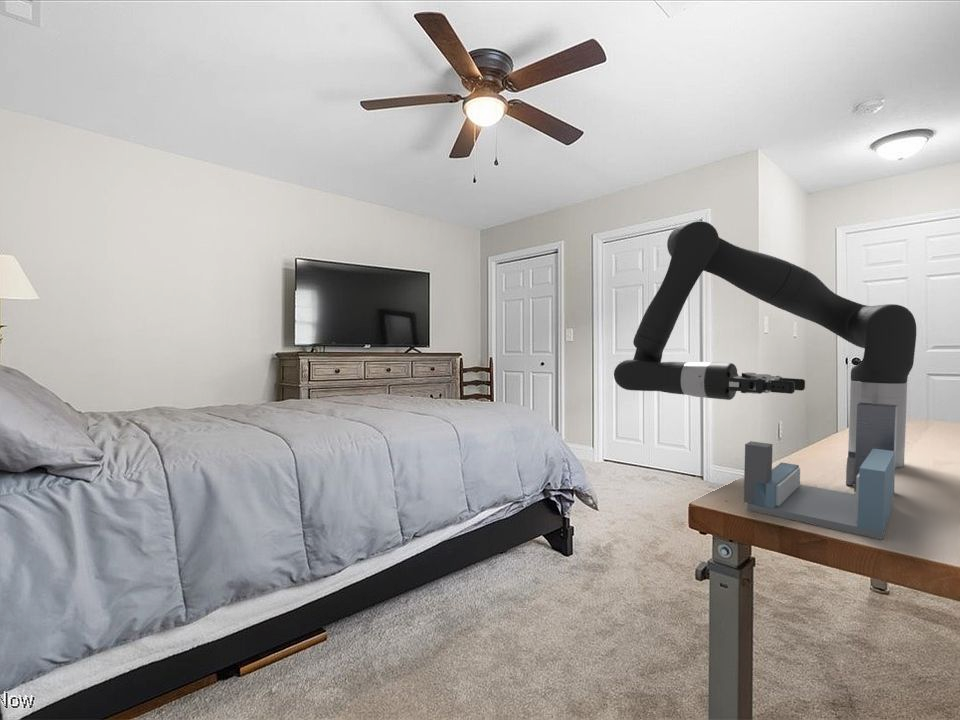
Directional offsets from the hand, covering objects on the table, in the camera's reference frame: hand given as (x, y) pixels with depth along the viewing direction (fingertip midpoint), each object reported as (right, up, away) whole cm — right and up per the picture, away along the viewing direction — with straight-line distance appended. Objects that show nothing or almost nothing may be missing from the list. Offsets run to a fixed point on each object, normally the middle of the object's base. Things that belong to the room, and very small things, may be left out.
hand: (799, 386), depth 90 cm
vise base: (-7, -18, -15) cm, 25 cm away
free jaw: (-12, -17, -11) cm, 24 cm away
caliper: (+14, -18, +3) cm, 23 cm away
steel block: (+8, -18, -7) cm, 21 cm away
